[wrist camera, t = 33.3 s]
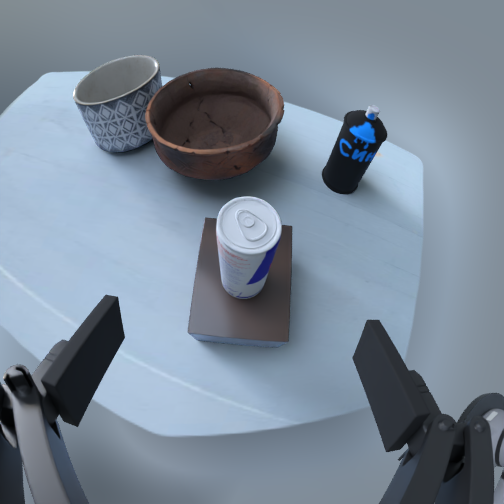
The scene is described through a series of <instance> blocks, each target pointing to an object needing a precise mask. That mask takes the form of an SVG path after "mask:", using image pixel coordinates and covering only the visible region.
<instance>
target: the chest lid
mask: <svg viewBox="0 0 504 504" xmlns="http://www.w3.org/2000/svg"><path fill="white" fill-rule="evenodd" d="M216 225H217V219H215V218H205V219H204V225H203V231H202V237H201V243H200V249H199V255H198V261H197V268H196V275H195V281H194V288H193V295H192V303H191V310H190V318H189V326H188V333H189V334H195V335H203V336H212V337H221V338H231V339H242V340H254V341H267V342H284V343H287V342H288V338H289V318H290V295H291V263H292V226H287V225H282V231H281V237H280V241H279V244H278V247H277V250H276V252H275V255H274V258H273V261H272V264H271V267H270V269H269V272H268V275H267V278H266V281H265V283H264V286H263V288H262V290H261V291H260V292H259V293H258V294H257V295H256V296H254V297H252V298H248V299H239V298H236V297H233V296H231V295H230V294H229V293H228V292H227V291H226V290H225V288H224V287H223V284H222V279H221V271H220V262H219V254H218V245H217V235H216Z"/></svg>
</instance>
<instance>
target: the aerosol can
mask: <svg viewBox="0 0 504 504" xmlns="http://www.w3.org/2000/svg"><path fill="white" fill-rule="evenodd" d="M379 112H380V110H379V108H378V107H376V106H374V105H370V106H369V107H368V110H367V111H364V110H357V111H351V112H348V113H347V114H346V115H345V117H344V123H343V126H342V128H341V131H340V133H339V136H338V138H337V141H336V143H335V145H334V148H333V150H332V153H331V155H330V157H329V160H328V162H327V165H326V166H325V167H324V169H323V171H322V178H323V181H324V182H325V184H326V185H327V186H328V187H329V188H330V189H331V190H333V191H335V192H337V193H340V194H350V193H352V192H354V191H355V190H356V189H357V187H358V183H359V181H360V180H361V178H362V176H363V175H364V173H365V171H366V170H367V168H368V166H369V165H370V163H371V161H372V160H373V158H374V156H375V154H376V153H377V151H378V149H379V147H380V146H381V144H382V142H384V141H385V140H386V138H387V131H386V129H385V127H384V125H383V123H382V121H381V120H380V119H379V118H378V117H377V116H378V114H379Z"/></svg>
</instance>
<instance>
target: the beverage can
mask: <svg viewBox="0 0 504 504" xmlns="http://www.w3.org/2000/svg"><path fill="white" fill-rule="evenodd" d="M281 231H282V223H281V219H280V217H279V215H278V213H277V211H276V210H275V209H274V208H273V207H272V206H271V205H270V204H269V203H267V202H266V201H264V200H262V199H259V198H256V197H249V196H245V197H238V198H235V199H233V200H231V201H229V202H228V203H227V204H225V205H224V206H223V207H222V209H221V210H220V212H219V214H218V218H217V225H216V235H217V245H218V254H219V262H220V271H221V279H222V284H223V287H224V288H225V290H226V291H227V292H228V293H229V294H230V295H231V296H233V297H236V298H239V299H248V298H252V297H254V296H256V295H257V294H258V293H259V292H260V291H261V290H262V288H263V286H264V283H265V281H266V278H267V275H268V272H269V269H270V267H271V264H272V261H273V258H274V255H275V252H276V250H277V247H278V244H279V241H280V237H281Z"/></svg>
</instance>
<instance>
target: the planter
mask: <svg viewBox="0 0 504 504" xmlns="http://www.w3.org/2000/svg"><path fill="white" fill-rule="evenodd" d="M161 87H162V82H161V75H160V67H159V63H158V61H157V60H156V59H154V58H152V57H150V56H144V55H134V56H127V57H122V58H119V59H115V60H113V61H110V62H108V63H105V64H103V65H102V66H99V67H98V68H96V69H94V70H93V71H91V72H90V73H89V74H87V75H86V76H85V77H84V78H83V79H82V80H81V81H80V82H79V83H78V85H77V86H76V88H75V90H74V93H73V98H74V100H75V102H76V105H77V107H78V109H79V111H80V113H81V115H82V117H83V119H84V121H85V123H86V125H87V127H88V129H89V131H90V133H91V135H92V137H93V139H94V141H95V143H96V144H97V146H98V147H100V148H101V149H103V150H105V151H108V152H124V151H129V150H132V149H135V148H138V147H140V146H142V145H144V144H145V143H147V142H149V141H150V140H151V139H153V137H152V134H151V133H150V131H149V129H148V127H147V123H146V119H145V113H146V109H147V106H148V104H149V102H150V100H151V99H152V97H153V96H154V94H155V93H156V92H157V91H158V90H159V89H160V88H161Z"/></svg>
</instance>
